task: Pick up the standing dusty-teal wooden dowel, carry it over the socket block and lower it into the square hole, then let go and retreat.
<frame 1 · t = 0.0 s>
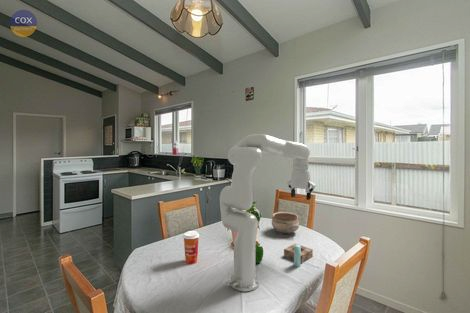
hand: (300, 198, 135), 31 cm above the table, fingers open, 9 cm apart
cooking pot: (285, 232, 168), on the table
coffee cup: (191, 261, 126), on the table
socket: (298, 256, 131), on the table
bell pepper: (255, 262, 125), on the table
peg: (297, 265, 122), on the table
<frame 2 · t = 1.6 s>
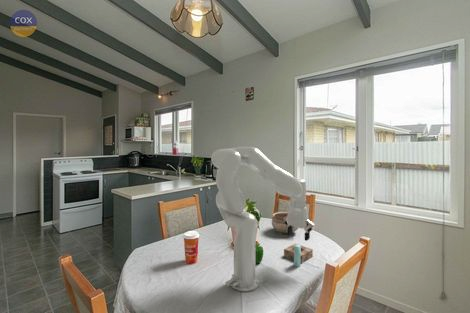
hand: (298, 237, 121), 14 cm above the table, fingers open, 9 cm apart
nothing on the table moved.
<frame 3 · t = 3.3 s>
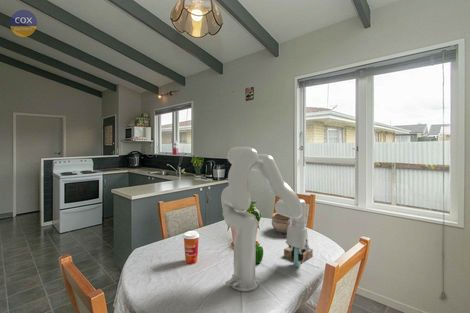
hand: (297, 259, 122), 3 cm above the table, fingers closed on peg, 3 cm apart
peg: (297, 265, 122), on the table, touching gripper
everything else where it was.
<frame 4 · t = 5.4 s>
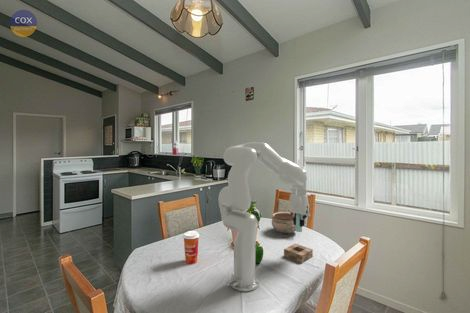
hand: (298, 225, 131), 17 cm above the table, fingers closed on peg, 3 cm apart
peg: (298, 230, 131), point 14 cm above the table, touching gripper
everything else where it was.
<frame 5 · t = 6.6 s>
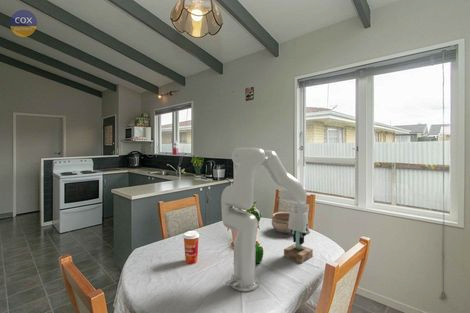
hand: (298, 242, 131), 8 cm above the table, fingers closed on peg, 3 cm apart
peg: (298, 248, 131), point 5 cm above the table, touching gripper
everything else where it was.
when the fingers open (5 cm above the table, at t = 7.4 s): peg drops 2 cm, resting in socket.
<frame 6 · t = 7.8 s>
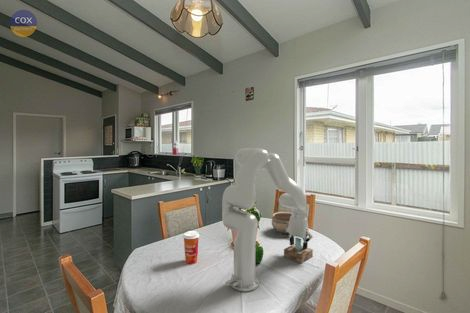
hand: (298, 246, 131), 5 cm above the table, fingers open, 7 cm apart
peg: (298, 256, 132), resting in socket
everything else where it was.
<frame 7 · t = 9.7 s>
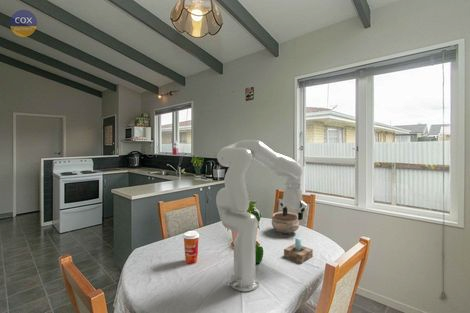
hand: (292, 217, 130), 22 cm above the table, fingers open, 9 cm apart
nothing on the table moved.
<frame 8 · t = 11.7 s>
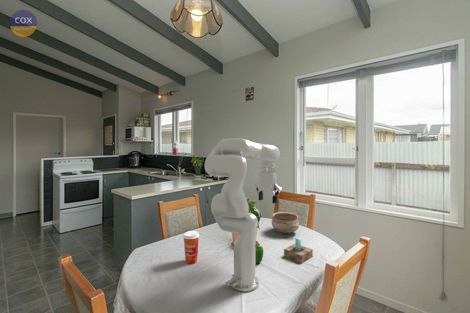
hand: (267, 201, 131), 30 cm above the table, fingers open, 9 cm apart
nothing on the table moved.
at the end: peg 0.0 cm off-centre on the socket, point 0.0 cm above the socket's base; peg tilted 0°; the gripper is holding nothing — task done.
